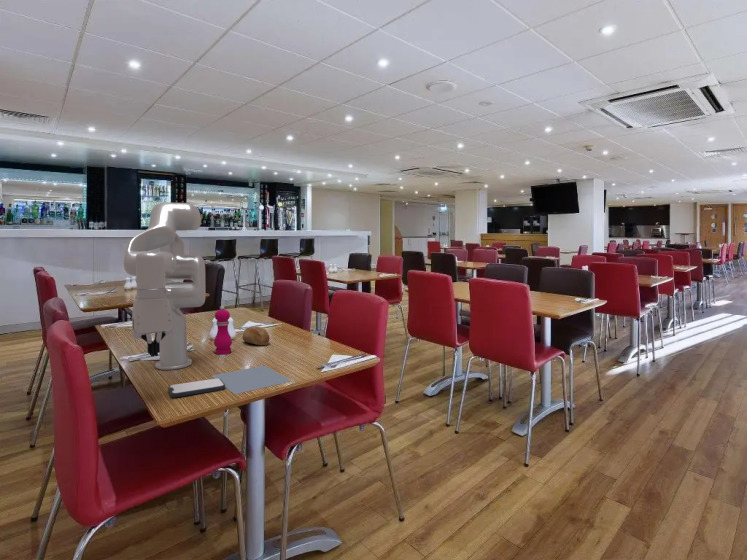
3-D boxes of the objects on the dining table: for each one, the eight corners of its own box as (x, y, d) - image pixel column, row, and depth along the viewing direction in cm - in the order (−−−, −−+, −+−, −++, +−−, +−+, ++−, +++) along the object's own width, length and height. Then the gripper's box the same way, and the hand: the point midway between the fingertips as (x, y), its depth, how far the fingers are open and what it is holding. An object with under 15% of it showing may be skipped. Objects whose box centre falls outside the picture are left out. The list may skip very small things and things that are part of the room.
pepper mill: (234, 353, 178) (233, 306, 176) (217, 355, 174) (215, 307, 172) (229, 349, 184) (228, 304, 182) (212, 352, 179) (210, 305, 177)
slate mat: (211, 376, 149) (211, 375, 149) (264, 365, 162) (264, 365, 162) (234, 394, 132) (234, 394, 132) (291, 381, 145) (291, 381, 145)
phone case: (219, 382, 144) (167, 390, 135) (219, 377, 143) (167, 385, 135) (226, 390, 136) (171, 399, 128) (226, 385, 136) (171, 394, 127)
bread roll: (257, 348, 186) (257, 331, 185) (236, 343, 195) (236, 326, 194) (274, 344, 193) (274, 327, 193) (253, 339, 202) (253, 323, 201)
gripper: (175, 291, 132) (177, 349, 134) (120, 295, 123) (122, 356, 124) (181, 293, 126) (183, 354, 128) (124, 297, 117) (127, 362, 118)
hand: (153, 355), depth 126 cm, fingers closed
